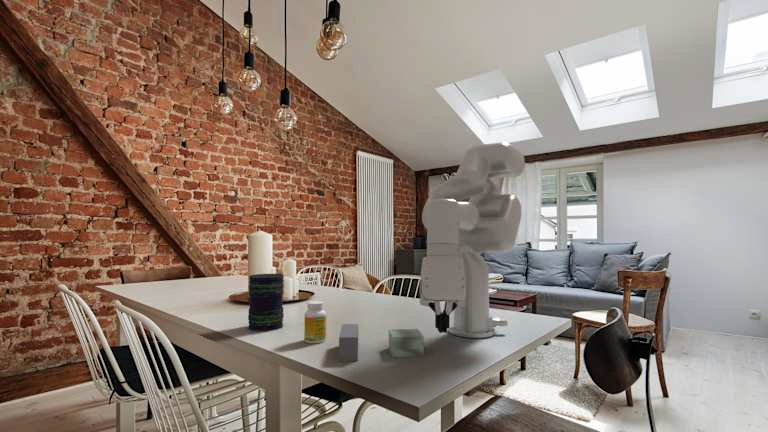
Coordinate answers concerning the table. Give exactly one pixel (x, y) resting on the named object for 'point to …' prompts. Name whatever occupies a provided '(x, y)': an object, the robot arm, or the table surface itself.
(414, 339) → the sage block
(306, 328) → the supplement bottle
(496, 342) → the table surface
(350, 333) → the gray rectangular block
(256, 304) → the storage jar
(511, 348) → the table surface
